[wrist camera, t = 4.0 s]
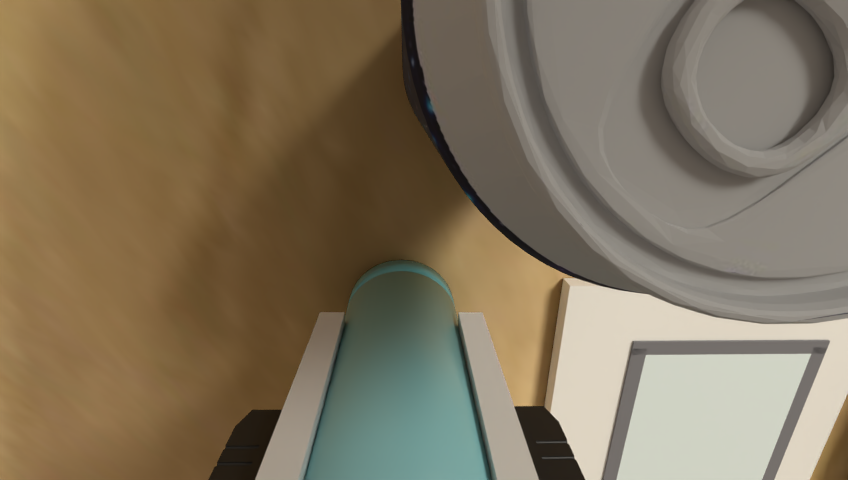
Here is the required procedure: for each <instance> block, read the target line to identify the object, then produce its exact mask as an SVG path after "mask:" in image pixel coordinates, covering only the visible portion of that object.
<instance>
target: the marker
mask: <svg viewBox="0 0 848 480" xmlns="http://www.w3.org/2000/svg"><path fill="white" fill-rule="evenodd" d="M305 480H492V478H491V474H490V469H489V465H488V460H487V456H486V451H485V447H484V442H483V438H482V433H481V429H480V424H479V420H478V415H477V411H476V406H475V402H474V397H473V393H472V388H471V384H470V379H469V375H468V370H467V366H466V361H465V357H464V352H463V348H462V343H461V338H460V334H459V329H458V318H457V314H456V310H455V306H454V301H453V297H452V294H451V291H450V288H449V286H448V284H447V283H446V282H445V280H444V279H443V278H442V277H441V276H440V274H438V273H437V272H436V271H435V270H433V269H432V268H430V267H428V266H426V265H424V264H422V263H418V262H415V261H409V260H394V261H388V262H385V263H382V264H379V265H377V266H375V267H373V268H371V269H370V270H368V271H367V272H366V273H365V274H363V276H362V277H361V278H360V279H359V280H358V281H357V283H356V284H355V286H354V288H353V290H352V293H351V296H350V300H349V303H348V307H347V311H346V315H345V326H344V330H343V334H342V338H341V342H340V345H339V349H338V353H337V357H336V361H335V365H334V368H333V372H332V376H331V380H330V384H329V388H328V391H327V395H326V399H325V403H324V407H323V411H322V414H321V418H320V422H319V426H318V430H317V434H316V437H315V441H314V445H313V449H312V453H311V457H310V460H309V464H308V468H307V472H306V476H305Z"/></svg>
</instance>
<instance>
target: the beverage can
mask: <svg viewBox="0 0 848 480" xmlns="http://www.w3.org/2000/svg"><path fill="white" fill-rule="evenodd" d="M401 23H402V62H403V78H404V85H405V89H406V93H407V96H408V100H409V102H410V105H411V107H412V109H413V111H414V113H415V115H416V117H417V118H418V120H419V122H420V123H421V125H422V127H423V128H424V130H425V131H426V133H427V135H428V136H429V138H430V139H431V141H432V143H433V144H434V146H435V147H436V149H437V151H438V152H439V154H440V155H441V157H442V159H443V160H444V162H445V163H446V165H447V167H448V168H449V170H450V171H451V173H452V175H453V176H454V178H455V179H456V181H457V182H458V183H459V185H460V186H461V188H462V189H463V191H464V192H465V194H466V195H467V196H468V197H469V199H470V200H471V201H472V202H473V203H474V205H475V206H476V207H477V208H478V210H479V211H480V212H481V213H482V214H483V215H484V216H485V217H486V218H487V219H488V220H489V221H490V222H491V223H492V224H493V225H494V226H495V227H496V228H497V229H498V230H499V231H500V232H501V233H502V234H504V235H505V236H506V237H507V238H508V239H509V240H510V241H512V242H513V243H514V244H516V245H517V246H519V247H520V248H521V249H523V250H524V251H525V252H527V253H528V254H530V255H531V256H533V257H535V258H536V259H538V260H540V261H541V262H543V263H545V264H546V265H548V266H550V267H552V268H554V269H556V270H558V271H560V272H562V273H565V274H567V275H570V276H572V277H575V278H577V279H580V280H582V281H586V282H589V283H592V284H595V285H599V286H602V287H607V288H611V289H616V290H621V291H628V292H635V293H642V294H649V295H651V296H653V297H655V298H658V299H660V300H663V301H665V302H668V303H670V304H673V305H675V306H678V307H682V308H685V309H688V310H691V311H694V312H698V313H701V314H705V315H709V316H712V317H716V318H723V319H730V320H738V321H745V322H752V323H759V324H812V323H819V322H826V321H833V320H839V319H846V318H848V0H401Z"/></svg>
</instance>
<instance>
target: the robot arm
mask: <svg viewBox="0 0 848 480" xmlns="http://www.w3.org/2000/svg"><path fill="white" fill-rule="evenodd" d="M344 326H345V312H320V314H319V316H318V319H317V321H316V324H315V327H314V329H313V332H312V334H311V337H310V339H309V342H308V345H307V347H306V350H305V352H304V355H303V357H302V360H301V363H300V365H299V368H298V370H297V373H296V375H295V378H294V381H293V383H292V386H291V388H290V391H289V394H288V396H287V399H286V401H285V404H284V406H283V409H282V410H252V411H251V412H250V413H249V414H248V415H247V416H246V417H245V418H244V419H243V420H242V421H241V422H240V423H238V424H237V425H236V426H235V428H234V430H233V432H232V434H231V436H230V438H229V440H228V442H227V444H226V448H225V450H223V452H222V454H221V456H220V458H219V460H218V462H217V466H215V468H214V470H213V472H212V474H211V476H210V478H209V480H305V476H306V472H307V468H308V464H309V460H310V457H311V453H312V449H313V445H314V441H315V437H316V434H317V430H318V426H319V422H320V418H321V414H322V411H323V407H324V403H325V399H326V395H327V391H328V388H329V384H330V380H331V376H332V372H333V368H334V365H335V361H336V357H337V353H338V349H339V345H340V342H341V338H342V334H343V330H344ZM458 329H459V334H460V338H461V343H462V348H463V352H464V357H465V361H466V366H467V370H468V375H469V379H470V384H471V388H472V393H473V397H474V402H475V406H476V411H477V415H478V420H479V424H480V429H481V433H482V438H483V442H484V447H485V451H486V456H487V460H488V465H489V469H490V474H491V478H492V480H585V478H584V476H583V474H582V471H581V469H580V467H579V465H578V463H577V460H575V458H574V454H573V452H572V449H571V447H570V445H569V444H568V443H567V438H566V436H565V434H564V432H563V430H562V428H561V425H560V423H559V421H558V420H557V419H556V418H555V417H554V416H553V415H552V414H551V413H550V412H549V411H548V410H547V409H546V408H545V407H544V406H516V407H514V404H513V401H512V399H511V396H510V393H509V390H508V387H507V384H506V381H505V378H504V375H503V372H502V369H501V366H500V363H499V360H498V357H497V354H496V351H495V348H494V345H493V342H492V339H491V336H490V333H489V330H488V327H487V324H486V321H485V318H484V316H483V313H482V312H459V314H458Z"/></svg>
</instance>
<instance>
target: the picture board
mask: <svg viewBox="0 0 848 480" xmlns="http://www.w3.org/2000/svg"><path fill="white" fill-rule="evenodd" d="M847 394H848V318H846V319H839V320H833V321H826V322H819V323H812V324H759V323H752V322H745V321H738V320H730V319H723V318H716V317H712V316H709V315H705V314H701V313H698V312H694V311H691V310H688V309H685V308H682V307H678V306H675V305H673V304H670V303H668V302H665V301H663V300H660V299H658V298H655V297H653V296H651V295H649V294H642V293H635V292H628V291H621V290H616V289H611V288H607V287H602V286H599V285H595V284H592V283H589V282H586V281H582V280H580V279H577V278H563V283H562V290H561V297H560V304H559V310H558V317H557V324H556V331H555V337H554V344H553V351H552V358H551V364H550V371H549V378H548V384H547V391H546V398H545V405H544V407H545V408H546V409H547V410H548V411H549V412H550V413H551V414H552V415H553V416H554V417H555V418H556V419H557V420H558V421H559V423H560V425H561V428H562V430H563V432H564V434H565V436H566V438H567V443H568V444H569V445H570V447H571V449H572V452H573V454H574V458H575V460H577V463H578V465H579V467H580V469H581V471H582V474H583V476H584V478H585V480H810V478H811V476H812V473H813V471H814V469H815V467H816V464H817V462H818V460H819V457H820V455H821V453H822V451H823V448H824V446H825V444H826V442H827V439H828V437H829V435H830V433H831V430H832V428H833V426H834V423H835V421H836V419H837V417H838V414H839V412H840V410H841V408H842V405H843V403H844V401H845V399H846V396H847Z"/></svg>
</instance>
